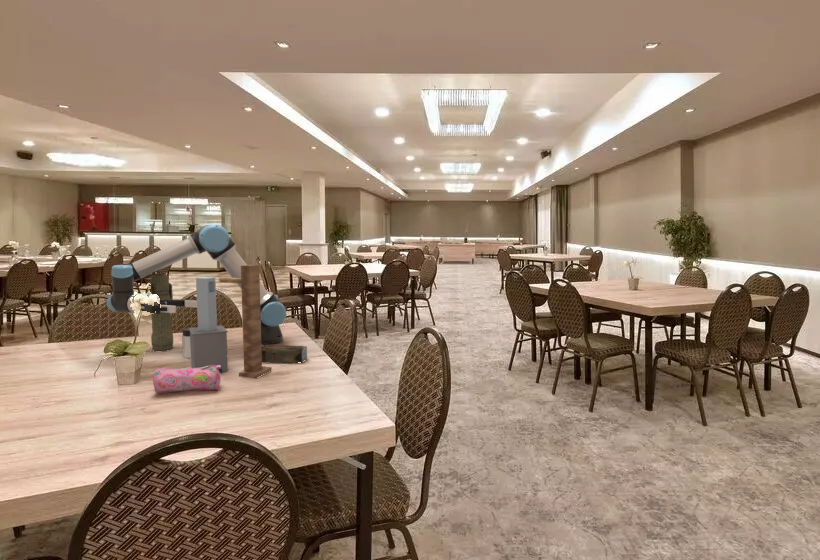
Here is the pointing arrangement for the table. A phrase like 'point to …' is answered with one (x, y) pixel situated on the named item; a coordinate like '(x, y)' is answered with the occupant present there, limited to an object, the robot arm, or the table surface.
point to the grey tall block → (206, 303)
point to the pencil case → (187, 379)
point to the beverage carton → (283, 353)
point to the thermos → (161, 314)
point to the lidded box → (209, 348)
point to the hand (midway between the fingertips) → (187, 306)
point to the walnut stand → (250, 320)
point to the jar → (186, 342)
